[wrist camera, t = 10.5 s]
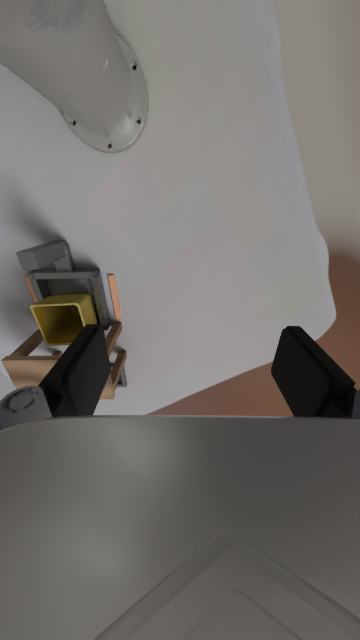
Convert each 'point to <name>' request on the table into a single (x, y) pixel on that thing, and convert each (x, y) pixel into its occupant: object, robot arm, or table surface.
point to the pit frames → (120, 378)
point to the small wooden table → (37, 367)
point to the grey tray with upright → (61, 273)
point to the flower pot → (63, 317)
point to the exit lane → (112, 287)
